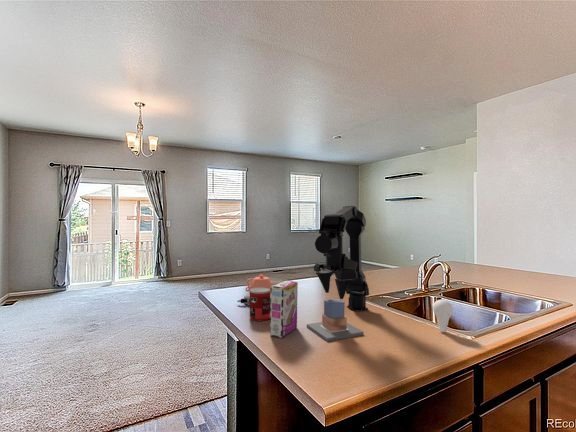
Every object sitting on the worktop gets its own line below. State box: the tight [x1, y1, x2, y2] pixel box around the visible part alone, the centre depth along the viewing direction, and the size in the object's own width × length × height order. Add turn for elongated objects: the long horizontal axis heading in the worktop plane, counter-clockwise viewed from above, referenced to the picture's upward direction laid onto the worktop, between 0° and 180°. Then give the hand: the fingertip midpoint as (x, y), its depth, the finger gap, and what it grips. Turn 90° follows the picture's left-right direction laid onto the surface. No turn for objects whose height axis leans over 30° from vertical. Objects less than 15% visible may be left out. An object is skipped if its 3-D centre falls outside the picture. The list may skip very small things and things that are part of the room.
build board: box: [306, 321, 364, 342], centre depth 107 cm, size 14×14×1 cm
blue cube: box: [323, 298, 345, 319], centre depth 107 cm, size 5×5×5 cm
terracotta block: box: [321, 313, 348, 332], centre depth 107 cm, size 6×6×4 cm
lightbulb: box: [432, 299, 454, 333], centre depth 105 cm, size 6×6×11 cm
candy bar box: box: [269, 280, 299, 339], centre depth 106 cm, size 11×5×16 cm, turn 152°
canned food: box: [249, 288, 271, 322], centre depth 120 cm, size 8×8×11 cm
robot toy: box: [236, 294, 271, 306], centre depth 138 cm, size 12×4×15 cm
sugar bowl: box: [245, 274, 273, 295], centre depth 155 cm, size 12×14×10 cm
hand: (334, 295), depth 107 cm, fingers open, 9 cm apart
